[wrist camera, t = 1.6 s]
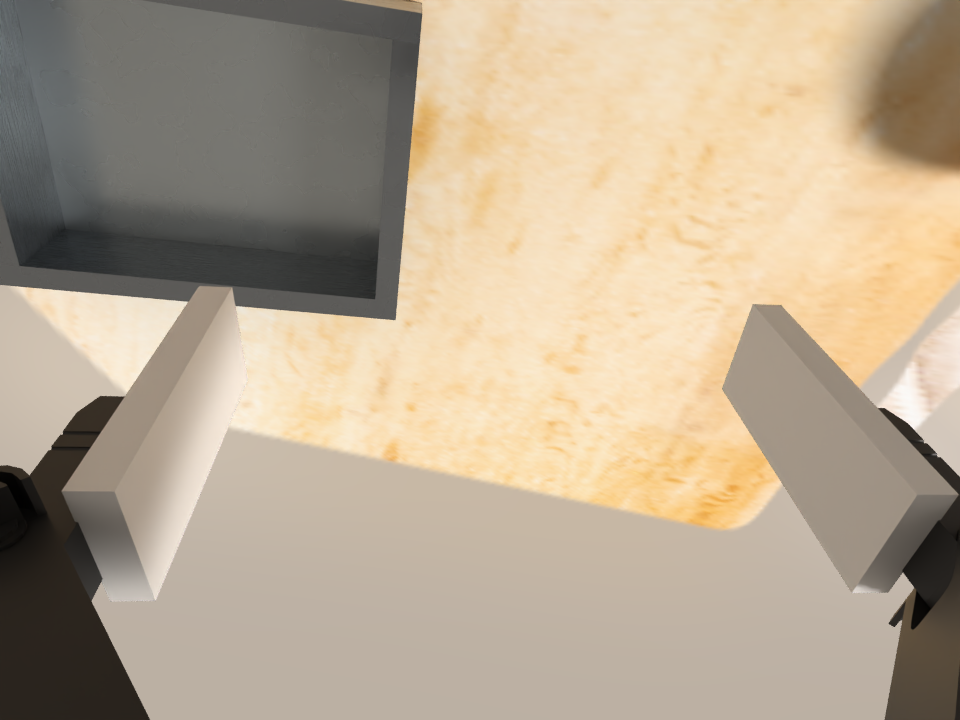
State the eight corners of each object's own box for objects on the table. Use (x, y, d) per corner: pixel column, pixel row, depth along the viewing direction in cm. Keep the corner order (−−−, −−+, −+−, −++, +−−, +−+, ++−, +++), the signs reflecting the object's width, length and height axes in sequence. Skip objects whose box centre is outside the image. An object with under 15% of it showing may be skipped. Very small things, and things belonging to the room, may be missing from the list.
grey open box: (56, 239, 37) (0, 284, 32) (-17, -70, 29) (-109, -74, 24) (398, 273, 40) (395, 320, 35) (421, 3, 32) (422, 13, 27)
